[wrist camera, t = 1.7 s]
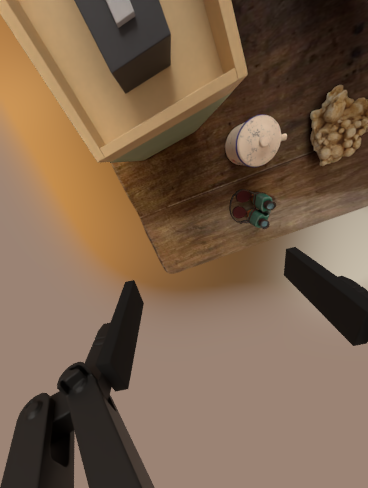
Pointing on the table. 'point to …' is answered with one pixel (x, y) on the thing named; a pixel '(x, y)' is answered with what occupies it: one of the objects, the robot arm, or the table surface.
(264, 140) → the teacup with lid
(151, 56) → the bar
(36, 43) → the drawer stand
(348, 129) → the mineral formation
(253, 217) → the binoculars
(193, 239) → the table surface
